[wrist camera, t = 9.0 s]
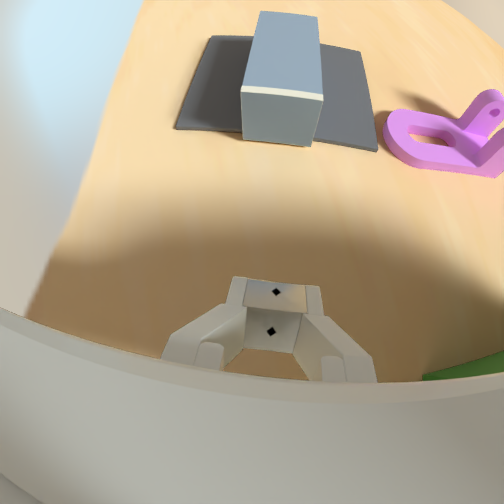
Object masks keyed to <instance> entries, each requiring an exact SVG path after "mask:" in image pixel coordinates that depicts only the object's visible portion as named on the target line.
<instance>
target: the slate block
mask: <svg viewBox="0 0 504 504" xmlns="http://www.w3.org/2000/svg"><path fill="white" fill-rule="evenodd" d="M322 104H323V89H322V70H321V55H320V42H319V31H318V20H317V17H314V16H307V15H299V14H291V13H281V12H269V11H260V15H259V19H258V22H257V26H256V30H255V34H254V38H253V42H252V46H251V50H250V55H249V59H248V63H247V67H246V71H245V76H244V80H243V85H242V87H241V111H242V130H243V140H254V141H265V142H274V143H283V144H291V145H299V146H307V147H311V145H312V141H313V137H314V134H315V130H316V126H317V123H318V119H319V115H320V112H321V108H322Z"/></svg>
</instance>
